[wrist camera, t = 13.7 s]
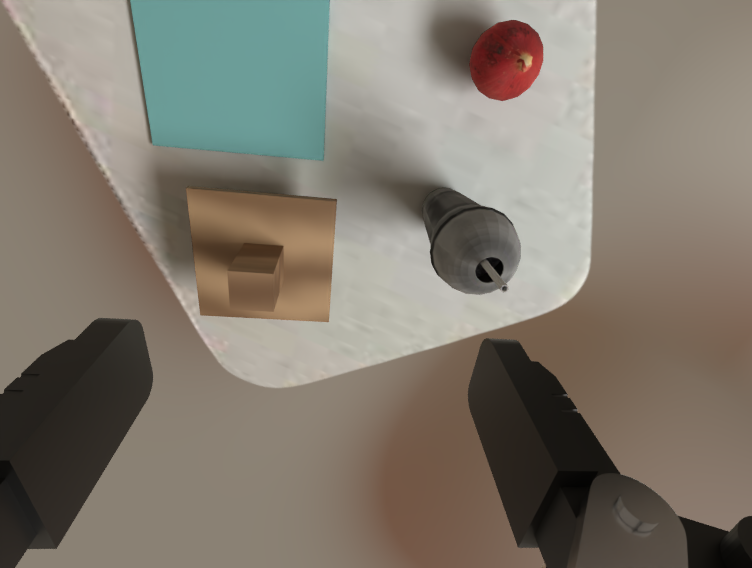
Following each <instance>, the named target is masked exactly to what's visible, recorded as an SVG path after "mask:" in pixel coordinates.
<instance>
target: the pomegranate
mask: <svg viewBox="0 0 752 568" xmlns="http://www.w3.org/2000/svg"><path fill="white" fill-rule="evenodd" d="M542 63H543V44H542V42H541V39H540V37H539V34H538V33H537V32H536V31H535V30H534V29H533V28H532V27H530V26H529V25H528V24H526V23H523V22H520V21H517V20H510V21H504V22H499V23H497V24H495V25H494V26H492V27H491V28H489V29H488V30H486V31H485V32H484V33H483V34H482V35H481V36H480V38H479V39H478V41H477V42H476V44H475V45H474V47H473V49H472V53H471V58H470V63H469V66H470V71H471V77H472V80H473V81H474V83H475V85H476V87H477V89H478V90H479V91H480V92H481V93H482V94H484V95H485V96H487V97H488V98H490V99H495V100H500V101H504V100H508V99H512V98H515V97H518V96H519V95H521V94H522V93H523V92H525V91H526V90H527V89H528V88H529V87H530V86H531V85H532V83H533V82H534V80H535V79H536V78H537V76H538V75H539V72H540V69H541V66H542Z"/></svg>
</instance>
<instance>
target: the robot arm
mask: <svg viewBox="0 0 752 568" xmlns="http://www.w3.org/2000/svg"><path fill="white" fill-rule="evenodd" d="M152 382H153V372H152V367H151V362H150V358H149V354H148V349H147V345H146V341H145V336H144V331H143V327H142V325H141V323H140V322H139V321H138V320H130V319H110V318H98V319H96V320H94V321H93V322H92V323H91V324H90V325H89V326H88V327H87V328H86V329H85V330H84V331H83V332H82V333H81V334H80V335H79V336H78V337H77V338H76V339H75V340H67V341H65V342H63V343H62V344H60V345H58V346H56V347H55V348H53V349H51V350H49V351H47V352H46V353H44V354H42V355H41V356H40V357H39V358H37V359H36V361H34V362H33V363H32V364H31V365H30V366H29V367H28V368H27V369H26V370H25V371H24V372H23V373H22V374H21V377H20V378H19V377H18V378H16V379H15V380H14V381H13V382H12V383H11V384H10V385H9V386H7V387H6V388H5V389H4V393H3V394H0V568H15V567H16V565H17V564H18V562H19V561H20V559H21V558H22V556H23V555H24V553H25V552H26V550H27V549H57V547H58V545H59V544H60V542H61V541H62V539H63V537H64V536H65V534H66V532H67V531H68V529H69V527H70V526H71V524H72V522H73V521H74V519H75V518H76V516H77V514H78V512H79V511H80V509H81V508H82V506H83V504H84V503H85V501H86V499H87V498H88V496H89V495H90V493H91V491H92V490H93V488H94V486H95V485H96V483H97V481H98V480H99V478H100V476H101V475H102V473H103V472H104V470H105V468H106V467H107V465H108V463H109V462H110V460H111V458H112V457H113V455H114V453H115V452H116V450H117V449H118V447H119V445H120V443H121V442H122V440H123V439H124V437H125V435H126V434H127V432H128V430H129V429H130V427H131V425H132V424H133V422H134V420H135V419H136V417H137V416H138V414H139V412H140V411H141V409H142V407H143V406H144V404H145V402H146V401H147V399H148V397H149V395H150V391H151V388H152ZM567 395H568V394H567V393H566V391H565V390H564V389H563V387H562V385H561V384H560V382H559V381H558V380H557V378H556V377H555V376H554V375H553V374H552V373H551V372H549V371H548V370H547V369H546V368H545V367H543V366H542V365H541V364H540V363H539V362H534V361H531V360H530V359H529V357H528V356H527V354H526V352H525V351H524V349H523V348H522V346H521V344H520V343H519V342H518V341H517V340H507V339H484V341H483V342H482V344H481V346H480V350H479V354H478V357H477V360H476V363H475V367H474V370H473V374H472V377H471V380H470V384H469V389H468V402H469V408H470V412H471V415H472V417H473V420H474V423H475V426H476V429H477V432H478V435H479V437H480V440H481V443H482V446H483V449H484V452H485V454H486V457H487V460H488V463H489V466H490V469H491V471H492V474H493V477H494V480H495V483H496V486H497V489H498V492H499V494H500V497H501V500H502V503H503V506H504V509H505V511H506V514H507V517H508V520H509V523H510V526H511V529H512V531H513V534H514V537H515V540H516V543H517V546H518V547H519V548H535V547H536V548H537V547H539V549H540V551H541V554H542V557H543V559H544V564H543V565H542V568H752V516H748V517H745V518H743V519H742V520H740V521H739V522H738V523H737V524H736V525H735V527H734V528H733V529H732V530H731V531H730V532H728V531H725V530H722V529H718V528H715V527H712V526H709V525H706V524H703V523H699V522H696V521H693V520H690V519H687V518H683V517H680V516H677V514H676V513H675V512H674V510H673V509H672V508H671V507H670V505H669V504H668V503H667V502H666V501H665V500H664V499H663V498H662V497H661V496H660V495H658V494H657V493H656V492H655V491H653V490H652V489H651V488H649V487H648V486H646V485H645V484H643V483H641V482H639V481H637V480H635V479H633V478H631V477H628V476H625V475H621V474H620V472H619V471H618V470H617V468H616V467H615V465H614V464H613V462H612V461H611V459H610V458H609V456H608V455H607V453H606V451H605V450H604V448H603V447H602V446H601V444H600V443H599V441H598V439H597V438H596V436H595V435H594V433H593V432H592V431H591V429H590V427H589V426H588V424H587V423H586V421H585V420H584V419H583V417H582V415H581V414H580V413H577V408H576V406H575V405H574V403H573V402H572V401H571V399H570V398H568V397H567Z"/></svg>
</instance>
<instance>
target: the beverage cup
mask: <svg viewBox="0 0 752 568" xmlns="http://www.w3.org/2000/svg"><path fill="white" fill-rule="evenodd" d="M422 212H423V219H424V223H425V227H426V230H427V234H428V237H429V240H430V244H431V249H430V255H431V263H432V266H433V268H434V269H435V271H436V273H437V275H438V276H439V277H441V278H442V279H443V280H444V281H445V282H446V283H447V284H449V285H450V286H451V287H452V288H454V289H456V290H459V291H461V292H463V293H466V294H477V295H480V294H485V293H491V292H493V291H495V290H497V289H500V290H501V291H502V292H507V291H508V289H509V288H508V286H507V284H506V283H507V282H508V281H509V280H510V279H511V278H512V276H513V275H514V273H515V272H516V270H517V267H518V264H519V261H520V258H521V245H520V241H519V238H518V235H517V233H516V230H515V228H514V226H513V224H512V222H511V221H510V220H509V219H508V218H507V217H506V216H505V214H503V213H501V212H499V211H497V210H495V209H493V208H489V207H485V206H481V205H479V204H478V203H476V202H474V201H473V200H471V199H469V198H468V197H466V196H464V195H463V194H461V193H459V192H457V191H455V190H452V189H450V188H440V189H437V190H435V191H433V192H431V193H430V194H429V195H428V196H427V197H426V199H425V201H424V203H423V207H422Z"/></svg>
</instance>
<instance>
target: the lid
mask: <svg viewBox="0 0 752 568" xmlns="http://www.w3.org/2000/svg"><path fill="white" fill-rule="evenodd" d="M186 193H187V202H188V211H189V220H190V228H191V237H192V246H193V255H194V263H195V272H196V281H197V290H198V298H199V307H200V315H206V316H224V317H243V318H262V319H280V320H299V321H318V322H329V310H330V295H331V280H332V265H333V250H334V235H335V219H336V204H337V199H329V198H318V197H307V196H296V195H284V194H273V193H262V192H251V191H240V190H229V189H218V188H207V187H196V186H188V187H187V188H186Z"/></svg>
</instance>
